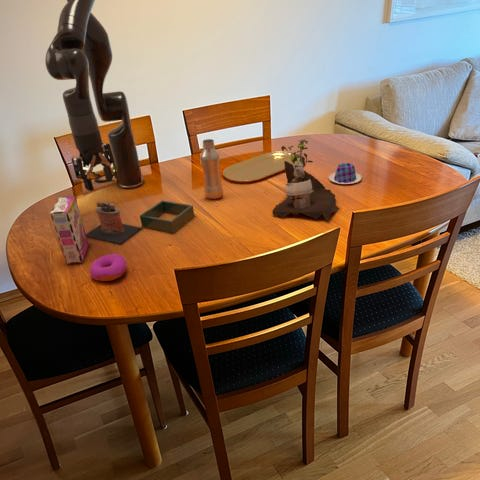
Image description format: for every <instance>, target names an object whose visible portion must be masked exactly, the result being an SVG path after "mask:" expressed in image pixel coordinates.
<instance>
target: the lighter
mask: <svg viewBox="0 0 480 480" xmlns="http://www.w3.org/2000/svg"><path fill="white" fill-rule="evenodd" d="M96 207H97V208H96V209H95V212H96V214H97V217H98V220H99V225H101V227H102V229H101V230H102V232H103V233H108V234H123V233H124V232H125V231H124V228H123V225H122V224H123V222H122V217H121V214H120V213H121V211H120V209H118V208H116V206H115V203H111V202H110V201H106V202H104V201H103V202H102V201H97V202H96Z"/></svg>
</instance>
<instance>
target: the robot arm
mask: <svg viewBox="0 0 480 480" xmlns="http://www.w3.org/2000/svg"><path fill="white" fill-rule="evenodd" d="M95 2H96V0H66V4H65V5H64V6H63V8H62V9H61V11H60V14H59V17H58V24H57V32H56V33H55V35H54V37H53V39H52V41H51V42H50V44H49V46H48V48H47V50H46V54H45V67H46V71H47V72H48V74H49V76H50V77H51V78H53V80H54V79H55V80H57V81H68V80H70V81H71V80H75V87H71V88H68V89H66V90H64V91H63V92H62V99H63V103H64V107H65V110H66V113H67V118H68V124H69V127H70V131H71V134H72V138H73V142H74V145H75V148H76V149H77V151H78V156H77V157H74V156H73V157H71V163H72V167H73V171H74V175H75V179H77V180H82V181H83V185H84V188H85V190H86V191H89V192H93V191H94V189H95V187H94V185H93V181H92V178H91V174H92V173H93V174H92V175H95V176H96V177H94V182H96V183H106V182H111V181H112V180H113V179H116V183H117V186H119V187H120V188H122V189H135V188H137V187H140V186H142V185H143V184H144V174H142V170H141V169H142V168H141V164H140V159H139V154H138V150H137V145H136V140H135V136H134V131H133V127H132V122H131V116H130V110H129V109H130V108H129V104H128V99H127V96H126V94H125V92H124V91H122V90H121V91H120V90H119V91H111V92H104V84H105V80H106V77H107V75H108V73H109V71H110V67H111V64H112V62H113V50H112V46H111V42H110V38H109V34H108V31H106V29H105V27H104V26H103V24H102V23H101V22H100V21H99V20H98V18H97V17H96V16H95V15H94V14H93V13H92V10H93V8H94V5H95ZM90 85H91V88H92V94H93V98H94V102H95V107H96V111H97V114H98V117H99V119H100V120H101V121H102V122H104V123H110V122H119V121H121V123H120V124H118V126H116V127H115V128H112V129H111V130H110V131H109V132H108V133H107V139H108V142H109V143H107V142H103V138H102V136H101V132H100V131H101V130H100V127H99V124H98V123H99V122H98V120H97V116H96V115H95V111H94V108H93V107H94V106H93V103H92V99H91V94H90ZM98 165H101V166H102V169H103V173H104V177H105V179H99V178H100V177H101V175H100V174H99V173H98V174H99V176H98V174H95V171H94V168H95V167H96V166H98ZM111 167H113V172H112V168H111Z"/></svg>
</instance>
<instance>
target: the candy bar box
mask: <svg viewBox="0 0 480 480" xmlns="http://www.w3.org/2000/svg"><path fill="white" fill-rule="evenodd" d="M49 214H50V217H51V220H52V223H53V226H54V229H55V233H56V236H57V238H58V241H59V245H60V247H61V249H62V252H63V256H64V258H65V262H66V264H67V265H71V264H82V263H83V262H84V260H85V257H86V254H87V251H88V248H89V244H90V243H89V240H88V237H86V234H87V233H86V231H85V226H84V224H83V220H82V216H81V213H80V210H79V206H78V203H77V199H76V196H73V195H72V196H63V197H59V198H58V199H57V200H56V203H55V204H54V206H53V208H52V209H51V211H50V213H49Z"/></svg>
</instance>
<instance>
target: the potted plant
mask: <svg viewBox="0 0 480 480" xmlns="http://www.w3.org/2000/svg"><path fill="white" fill-rule="evenodd" d="M298 142H299V143H298V145H297V149H298V150H296V151H294V152H293V151H292V148H294V145H291V146H287V147H286V146H285V145H283V146H281V148H280V150H281V152H285V151H286V152H288V153H291V156H292V155H294V157H293V156H292V158H291V161H292V162H293V164H294V165H293V164H290V163H288V162H287V161H284V164H285V171H284V172H285V176H286V182H285V196H286V197H287V198H285V200H283V201H282V202H279V203H278V204H275V206H274V207H273V209H272V215H273V216H278V217H280V218H281V219H284V218H285V217H286V216H289V215H290V214H292V215H294V216H297V215H299V214H302V215H303V214H304V215H306V216H308V217H310V218H313V219H315V220H318V218H320V217H321V216H323V217H324V218H325V219H326V220H327V221H331V215H332V213H335V212H337V211H338V210H339V207H338V206H337V204H336V203H337V202H336V201H337V200H336V194H334V193H333V192H332V190H330V189H327V188H326V186H324V184H323V183H321V181H319V180H318V179H317V178H315V176H314V175H312V173H309V172H307V171H306V170H305V169H304V168H306V166H307V164H306V163H314V161H313V160H308V154H307V153H306V152H303V150H308V147H306V144H308V143H309V140H307V139H305V138H304V139H298ZM288 153H287V154H288ZM297 158H300V161H299V162H298V164H295V161H297Z"/></svg>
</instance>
